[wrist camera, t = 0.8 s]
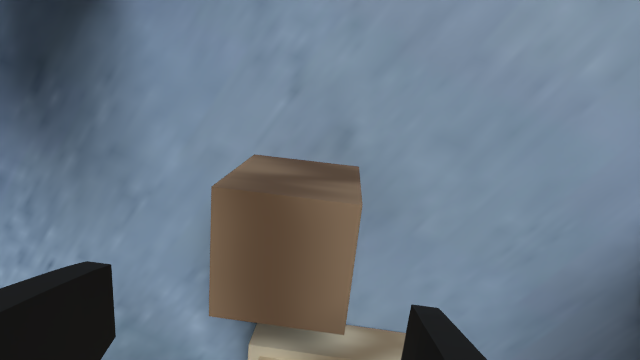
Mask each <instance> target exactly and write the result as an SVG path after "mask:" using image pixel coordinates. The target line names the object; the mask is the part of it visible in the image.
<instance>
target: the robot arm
mask: <svg viewBox="0 0 640 360" xmlns="http://www.w3.org/2000/svg"><path fill="white" fill-rule="evenodd" d="M115 337H116V335H115V319H114V303H113V286H112V270H111V264H103V263H96V262H88V261H86V262H82V263H78V264H74V265H71V266H67V267H64V268H60V269H57V270H54V271H51V272H48V273H45V274H42V275H39V276H36V277H33V278H30V279H27V280H24V281H21V282H18V283H15V284H12V285H9V286H6V287H4V288H1V289H0V360H101V358H102V357H103V355H104V354H105V352H106V351H107V349H108V347H109V346H110V344H111V343H112V341H113V340H114V338H115ZM401 360H487V359H486V358H485V357H484V356H483V355H482V354H481V353H480V352H479V351H478V350H477V349H476V348H475V346H474V345H473V344H472V343H471V342H470V341H469V340H468V339H467V338H466V337H465V336H464V335H463V334H462V333H461V331H460V330H459V329H458V328H457V327H456V326H455V325H454V324H453V323H452V322H451V321H450V320H449V319H448V317H447V316H446V315H445V314H444V313H443V312H442V311H441V310H440V309H439V308H434V307H426V306H419V305H411V310H410V315H409V320H408V325H407V331H406V336H405V341H404V346H403V351H402V356H401Z"/></svg>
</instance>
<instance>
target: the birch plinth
mask: <svg viewBox="0 0 640 360" xmlns="http://www.w3.org/2000/svg"><path fill="white" fill-rule="evenodd" d="M405 336H406V333H401V332H394V331H387V330H379V329H372V328H365V327H358V326H351V325H346V326H345V333H344V335H339V334H332V333H325V332H318V331H311V330H303V329H296V328H289V327H282V326H275V325H268V324H261V323H257V325H256V327H255V330H254V332H253V335H252V338H251V340H250V343H249V349H248V360H401V356H402V351H403V346H404V341H405Z"/></svg>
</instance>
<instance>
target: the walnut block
mask: <svg viewBox="0 0 640 360" xmlns="http://www.w3.org/2000/svg"><path fill="white" fill-rule="evenodd" d="M361 211H362V196H361V185H360V174H359V167H357V166H348V165H339V164H331V163H322V162H314V161H305V160H296V159H288V158H279V157H271V156H262V155H253V156H252V157H250V158H249V159H248V160H246V161H245V162H244V163H242V164H241V165H240V166H238V167H237V168H236V169H234V170H233V171H232V172H230V173H229V174H228V175H226V176H225V177H224V178H222V179H221V180H220V181H218V182H217V183H216V184H214V185H213V186H212V191H211V241H210V290H209V316H212V317H219V318H226V319H233V320H240V321H247V322H254V323H261V324H268V325H275V326H282V327H289V328H296V329H303V330H311V331H318V332H325V333H332V334H339V335H344V333H345V326H346V319H347V311H348V304H349V297H350V290H351V283H352V276H353V268H354V261H355V254H356V247H357V240H358V232H359V225H360V218H361Z"/></svg>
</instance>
